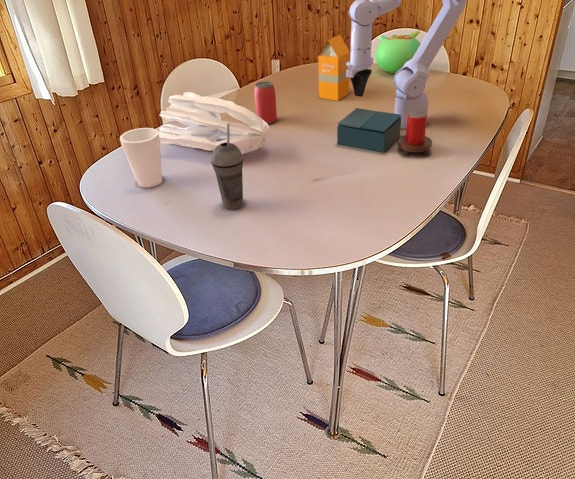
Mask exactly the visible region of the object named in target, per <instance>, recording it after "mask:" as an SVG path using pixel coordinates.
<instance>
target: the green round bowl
mask: <svg viewBox="0 0 575 479" xmlns="http://www.w3.org/2000/svg"><path fill="white" fill-rule="evenodd" d="M420 33H421V31H420V30H416V31H414V32H411V33H409V34H395V35H392V36H391V35H390V36H389V37H388V36H386V35H378V40H379V41H380V43H379V44H378V46H377V47H376V51H375V61H376V64H377V66H378V67H379V68H380V69H381V70H382V71H384V72H386V73H390V74H394V75H395V74H396V73H397V72H398V71H399V70H400V69H401V68H402V67H403V66H404V64H405V63H406V62H407V61H409V60H411V59H412V58H413V56H414V55H415V53H416V51H417V50H418V48H419V46H420V44H421V43H422V42H420V41H419V40H418V39H417V38H416V37H417V36H418V35H419V34H420Z"/></svg>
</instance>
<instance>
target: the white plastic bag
mask: <svg viewBox="0 0 575 479" xmlns="http://www.w3.org/2000/svg"><path fill="white" fill-rule="evenodd" d="M167 99H168V100H167V103H169V104H170V105H169V106H168V107H166V108H165V109H166V110H162V111H160V112H159V113H160V114H159V117H161V118H162V119H164V120H166V121H172V122H175V121H177V122H179V123H180V124H181V125H183V126H187V127H181V126H177V125H174V124H162V125H160V127H159V129H158V133H159V138H160V145H172V144H173V145H177V146H182V147H189V148H193V149H201V150H205V151H210V152H211V151H212V152H213V151H214V149H215V148H216V147H217V146H218V145H219V144H221V143H225V142H227V124H229V143H232V144H234V145H236V146H237V147H238V148H239V149H240V151H241V154H242V155H245V154H247V153H250V152H255V151H257V150H258V149H259V148H260V146H262V145H263V142H264V141H265V136H266V135H268V133H269V131H270V126H269V124H267V123H266V122H265V121H264V120H262V119H261V118H260V117H259V116H257V115H256V112H255V113H254V112H253V111H251V110H250V109H248V108H246V107H244V106H242V105H238V104H236V103H235V102H234V101H232V100H225V99H222V98H219V97H214V96H207V95H205V96H202V95H199V94H197V93H195V92H193V91H186V92H183V94H174V95H170V96H169V97H167ZM221 114H227V115H228V116H230V117H232V118H233V119H235V120H238V121H240V122H241V123H238V122H234V121H229V120H228V121H227V120H225V121H224V120H223V119H222V117H221ZM242 123H244V124H242Z"/></svg>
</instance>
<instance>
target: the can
mask: <svg viewBox="0 0 575 479" xmlns="http://www.w3.org/2000/svg"><path fill="white" fill-rule="evenodd" d="M426 123H427V124H428V113H427V114H426V113H424V112H420V111H414V112H410V113H409V114H408V118H407V127H406V129H405V130H406V131H405V135H406V140H405V141H406V142H407V143H409V144H413V145H419V144H422V143H424V141H425V136H426V133H427V132H426V131H427V125H426Z"/></svg>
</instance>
